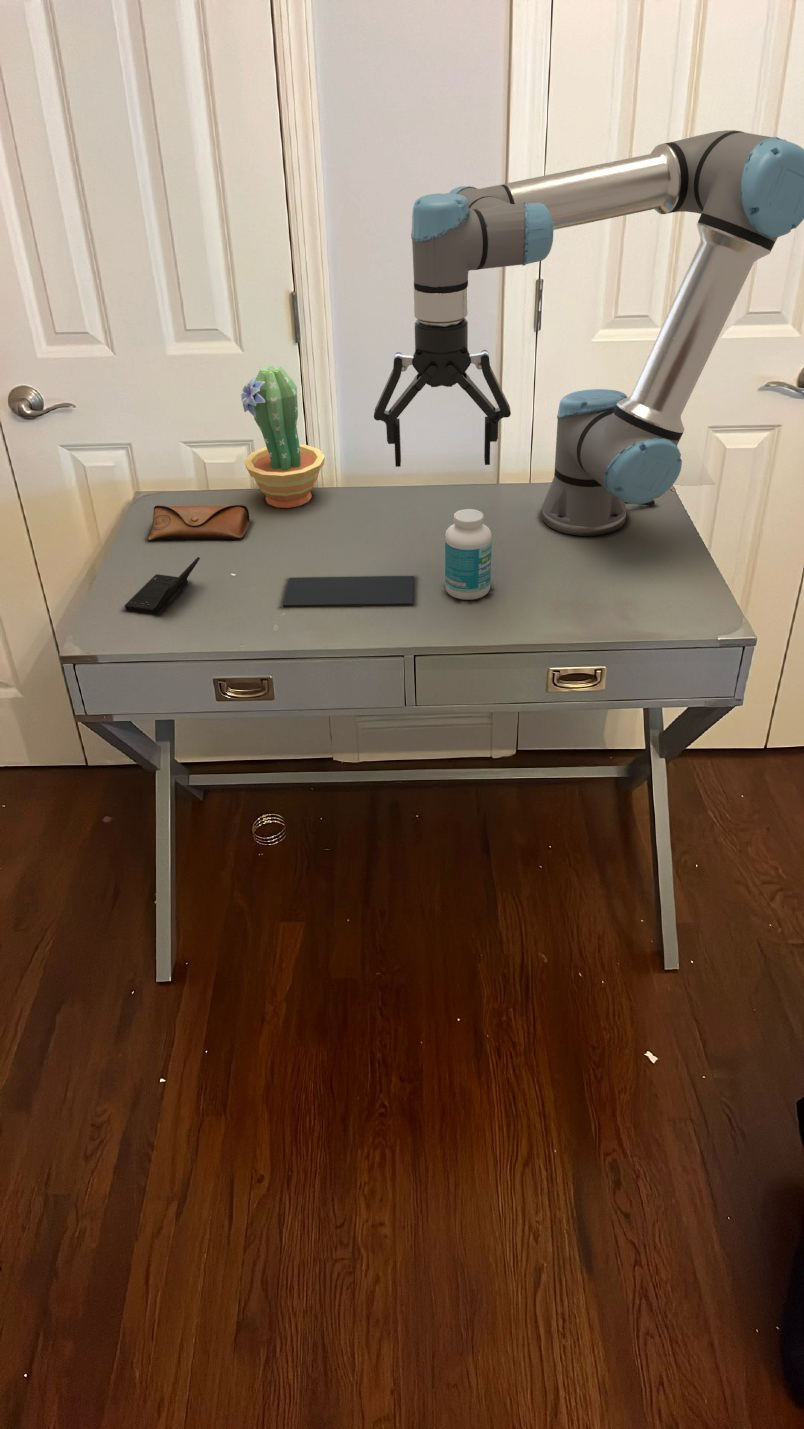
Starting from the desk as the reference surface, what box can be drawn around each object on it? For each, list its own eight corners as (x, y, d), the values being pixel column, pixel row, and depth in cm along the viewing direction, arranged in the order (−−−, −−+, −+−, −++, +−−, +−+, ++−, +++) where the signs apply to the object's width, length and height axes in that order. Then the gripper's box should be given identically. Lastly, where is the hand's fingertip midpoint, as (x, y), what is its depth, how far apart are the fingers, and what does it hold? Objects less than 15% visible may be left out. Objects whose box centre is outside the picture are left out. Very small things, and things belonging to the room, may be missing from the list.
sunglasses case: (145, 540, 180) (143, 503, 180) (156, 543, 187) (154, 507, 187) (244, 538, 180) (242, 501, 179) (251, 541, 187) (249, 505, 186)
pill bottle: (487, 603, 160) (488, 527, 152) (441, 600, 161) (441, 524, 153) (493, 580, 166) (495, 506, 158) (449, 577, 167) (448, 503, 159)
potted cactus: (251, 483, 200) (235, 357, 185) (328, 479, 201) (317, 353, 186) (246, 517, 188) (228, 385, 173) (328, 512, 188) (317, 381, 173)
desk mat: (413, 577, 168) (413, 575, 167) (412, 605, 160) (412, 603, 160) (289, 579, 168) (289, 577, 168) (283, 607, 161) (283, 605, 161)
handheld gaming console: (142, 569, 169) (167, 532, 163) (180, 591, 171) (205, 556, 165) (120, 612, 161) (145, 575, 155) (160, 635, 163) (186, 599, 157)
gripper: (528, 308, 142) (522, 450, 155) (354, 313, 143) (363, 454, 156) (532, 324, 136) (525, 470, 149) (350, 329, 137) (359, 473, 150)
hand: (442, 462), depth 152 cm, fingers open, 13 cm apart
